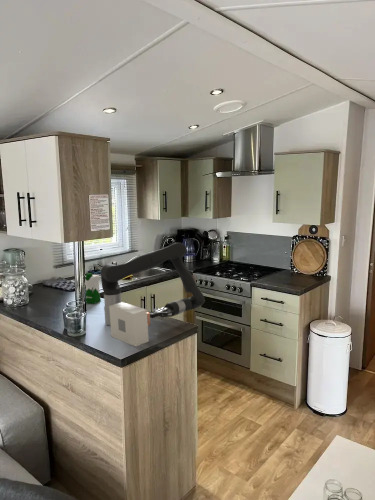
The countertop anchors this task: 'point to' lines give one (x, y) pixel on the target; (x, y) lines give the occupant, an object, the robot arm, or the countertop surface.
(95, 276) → the milk carton
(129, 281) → the countertop surface
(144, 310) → the key box
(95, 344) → the countertop surface
